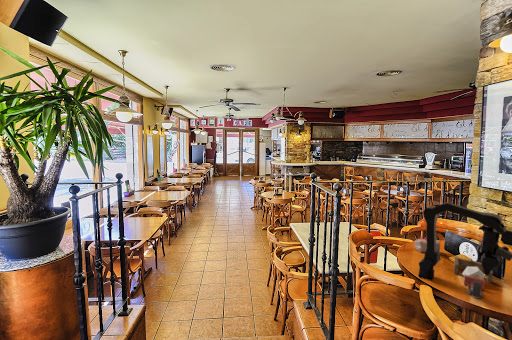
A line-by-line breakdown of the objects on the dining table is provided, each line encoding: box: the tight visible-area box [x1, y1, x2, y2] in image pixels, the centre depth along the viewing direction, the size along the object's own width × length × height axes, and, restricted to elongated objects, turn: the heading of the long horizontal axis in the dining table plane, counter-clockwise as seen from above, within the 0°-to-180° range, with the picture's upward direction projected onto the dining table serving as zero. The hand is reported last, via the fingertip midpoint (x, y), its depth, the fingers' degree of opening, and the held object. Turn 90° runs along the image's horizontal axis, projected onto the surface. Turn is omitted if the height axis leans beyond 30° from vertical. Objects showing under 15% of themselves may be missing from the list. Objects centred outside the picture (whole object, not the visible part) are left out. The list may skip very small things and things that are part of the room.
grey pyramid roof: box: [461, 266, 486, 280], centre depth 141 cm, size 8×9×10 cm
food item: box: [414, 236, 441, 254], centre depth 179 cm, size 14×8×10 cm, turn 84°
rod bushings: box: [467, 286, 483, 299], centre depth 131 cm, size 5×6×2 cm
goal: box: [453, 256, 494, 284], centre depth 149 cm, size 16×12×6 cm
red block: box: [463, 275, 486, 299], centre depth 131 cm, size 8×14×8 cm, turn 144°
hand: (485, 271), depth 127 cm, fingers open, 9 cm apart
